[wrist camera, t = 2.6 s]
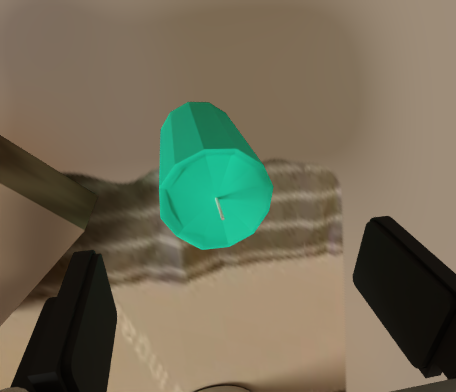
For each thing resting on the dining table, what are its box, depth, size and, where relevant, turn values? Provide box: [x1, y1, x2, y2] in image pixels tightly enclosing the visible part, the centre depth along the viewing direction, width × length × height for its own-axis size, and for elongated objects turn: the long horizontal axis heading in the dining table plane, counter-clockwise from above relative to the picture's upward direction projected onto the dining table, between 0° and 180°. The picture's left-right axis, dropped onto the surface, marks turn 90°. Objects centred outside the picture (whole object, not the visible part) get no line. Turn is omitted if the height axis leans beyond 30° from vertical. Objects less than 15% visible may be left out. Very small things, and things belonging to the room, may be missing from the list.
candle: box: [159, 102, 273, 250], centre depth 20 cm, size 6×6×12 cm
